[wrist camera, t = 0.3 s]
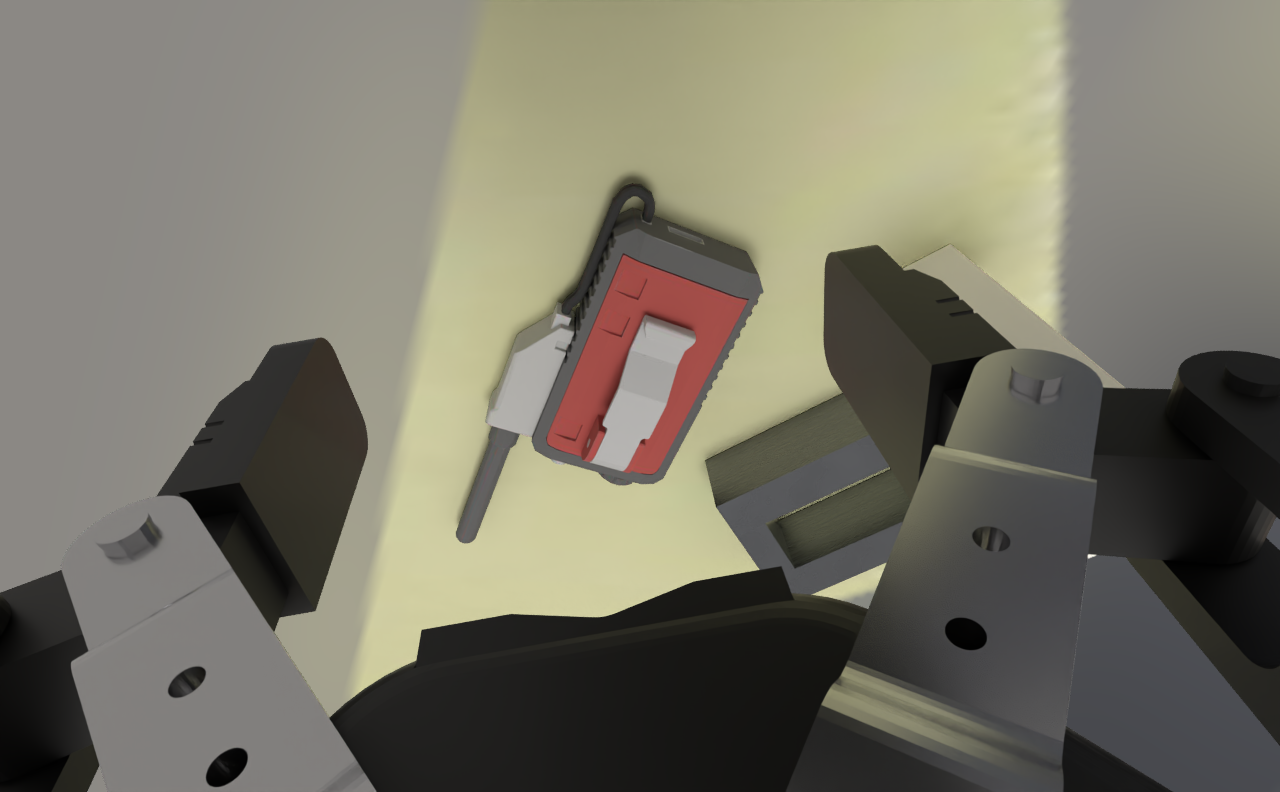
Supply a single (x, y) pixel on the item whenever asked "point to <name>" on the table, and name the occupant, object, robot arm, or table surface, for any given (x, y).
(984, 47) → the table surface
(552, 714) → the robot arm
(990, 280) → the white tall block
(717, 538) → the table surface
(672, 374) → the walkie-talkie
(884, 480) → the holder
